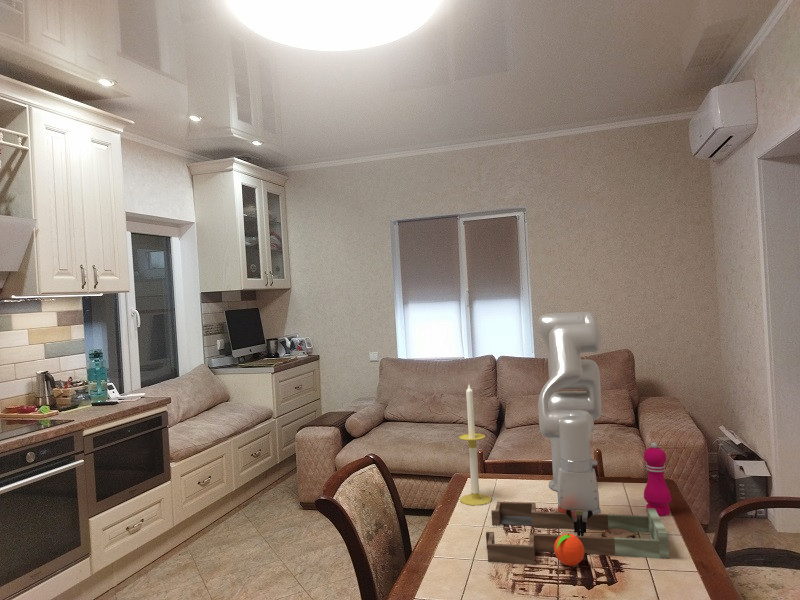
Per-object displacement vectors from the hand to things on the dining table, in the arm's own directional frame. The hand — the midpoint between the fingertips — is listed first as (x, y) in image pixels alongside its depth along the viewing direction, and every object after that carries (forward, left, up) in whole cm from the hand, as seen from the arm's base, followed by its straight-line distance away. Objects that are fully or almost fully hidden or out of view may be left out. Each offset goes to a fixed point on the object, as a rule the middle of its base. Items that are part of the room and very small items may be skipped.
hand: (580, 535), depth 146 cm
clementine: (+14, -4, -2) cm, 15 cm away
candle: (-27, -30, -2) cm, 41 cm away
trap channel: (0, -1, -1) cm, 2 cm away
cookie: (+1, +10, -2) cm, 10 cm away
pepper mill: (-22, +23, -2) cm, 32 cm away
